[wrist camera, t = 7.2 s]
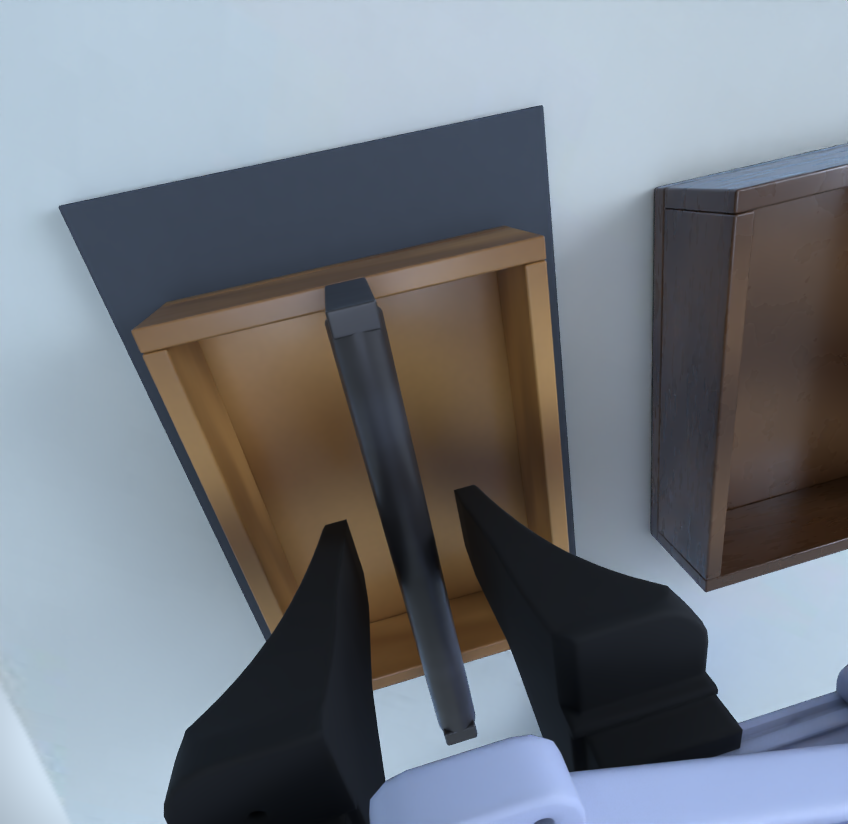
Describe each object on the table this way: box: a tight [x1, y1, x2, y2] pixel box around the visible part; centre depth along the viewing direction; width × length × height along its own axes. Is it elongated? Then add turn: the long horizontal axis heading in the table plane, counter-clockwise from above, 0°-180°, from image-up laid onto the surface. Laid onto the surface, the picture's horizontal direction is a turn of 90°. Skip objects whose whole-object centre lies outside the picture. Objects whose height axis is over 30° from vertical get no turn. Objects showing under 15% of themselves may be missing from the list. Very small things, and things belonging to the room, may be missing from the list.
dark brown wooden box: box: [651, 143, 848, 592], centre depth 18 cm, size 14×10×4 cm
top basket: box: [131, 226, 569, 745], centre depth 15 cm, size 14×10×6 cm
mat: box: [59, 105, 576, 641], centre depth 18 cm, size 20×13×1 cm, turn 11°
